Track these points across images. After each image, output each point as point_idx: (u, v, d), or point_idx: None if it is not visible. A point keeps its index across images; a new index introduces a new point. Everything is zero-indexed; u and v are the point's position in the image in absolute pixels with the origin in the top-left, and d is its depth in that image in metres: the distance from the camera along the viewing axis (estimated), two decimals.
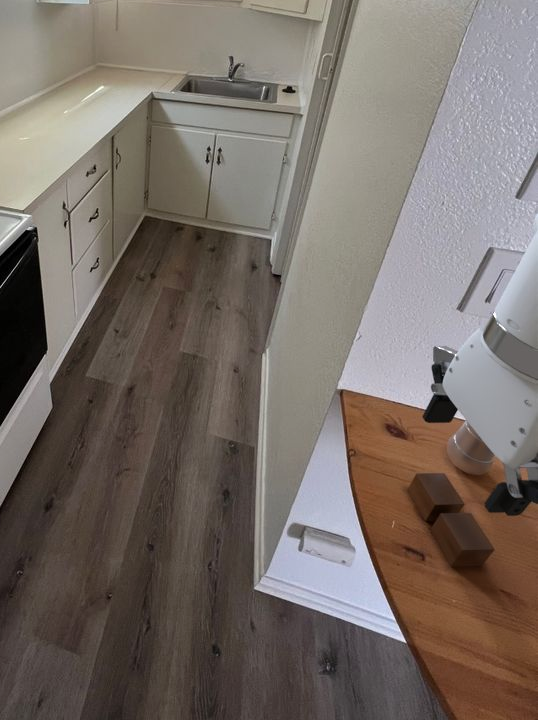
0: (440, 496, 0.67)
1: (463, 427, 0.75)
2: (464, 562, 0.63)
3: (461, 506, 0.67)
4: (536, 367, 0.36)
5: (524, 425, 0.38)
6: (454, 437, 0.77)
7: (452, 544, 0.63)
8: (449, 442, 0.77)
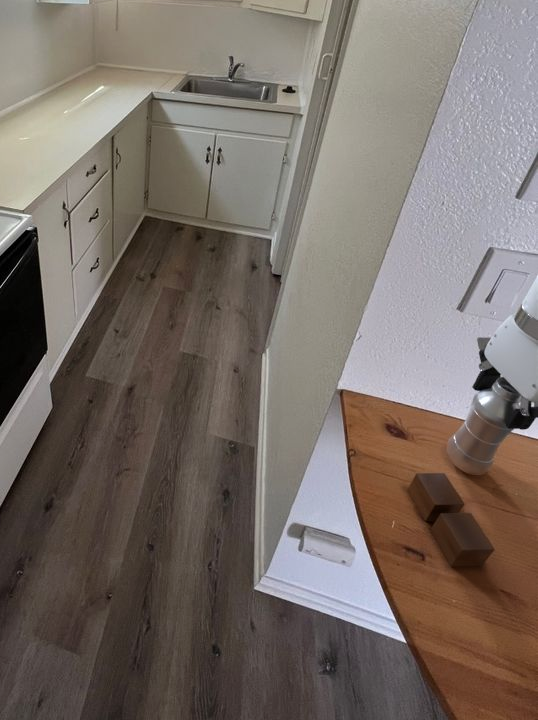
0: (440, 496, 0.67)
1: (463, 427, 0.75)
2: (464, 562, 0.63)
3: (461, 506, 0.67)
4: None
5: None
6: (454, 437, 0.77)
7: (452, 544, 0.63)
8: (449, 442, 0.77)
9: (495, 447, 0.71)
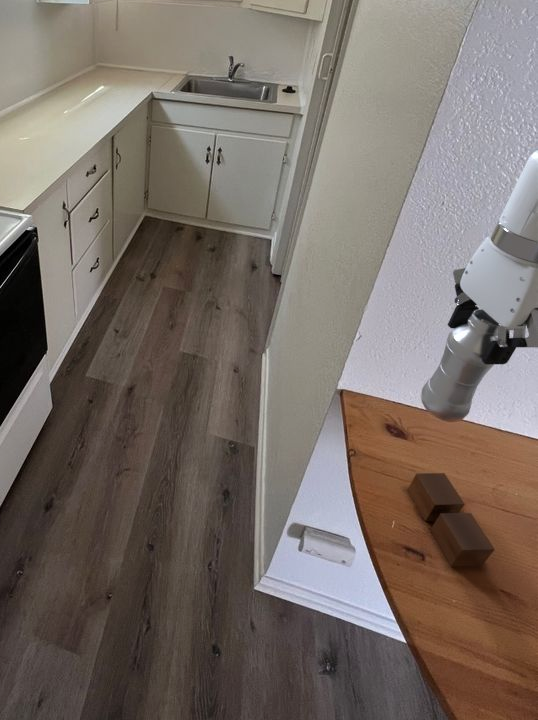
0: (440, 496, 0.67)
1: (438, 369, 0.68)
2: (464, 562, 0.63)
3: (461, 506, 0.67)
4: (528, 252, 0.53)
5: (519, 295, 0.54)
6: (428, 382, 0.70)
7: (452, 544, 0.63)
8: (423, 388, 0.70)
9: (472, 389, 0.65)
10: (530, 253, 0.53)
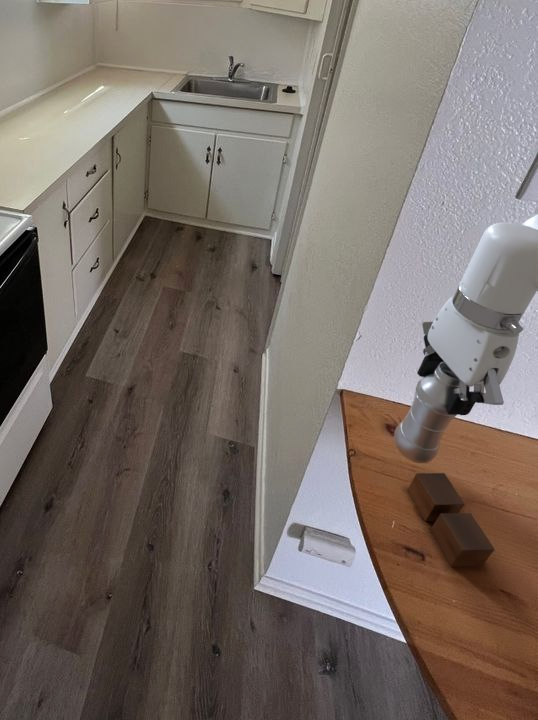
0: (440, 496, 0.67)
1: (408, 414, 0.73)
2: (464, 562, 0.63)
3: (461, 506, 0.67)
4: (483, 318, 0.58)
5: (477, 356, 0.59)
6: (400, 425, 0.75)
7: (452, 544, 0.63)
8: (396, 430, 0.75)
9: (439, 434, 0.69)
10: (485, 319, 0.58)
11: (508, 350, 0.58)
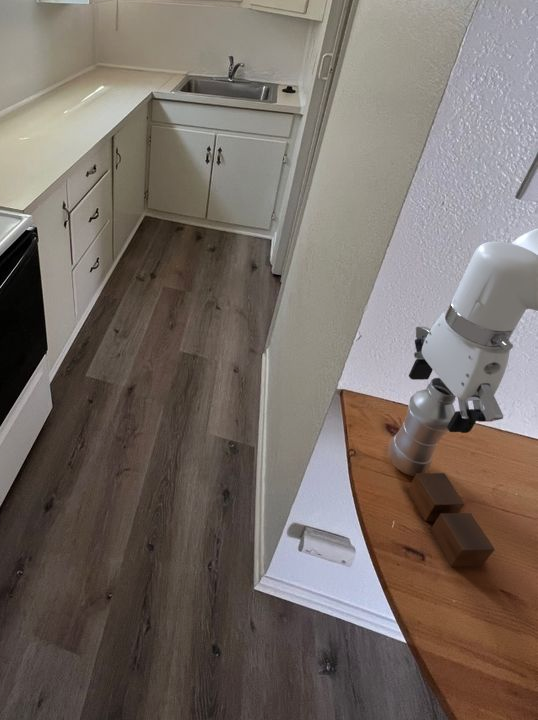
0: (440, 496, 0.67)
1: (402, 428, 0.74)
2: (464, 562, 0.63)
3: (461, 506, 0.67)
4: (474, 335, 0.59)
5: (468, 372, 0.61)
6: (394, 438, 0.76)
7: (452, 544, 0.63)
8: (390, 443, 0.77)
9: (431, 448, 0.71)
10: (476, 336, 0.59)
11: (499, 366, 0.59)
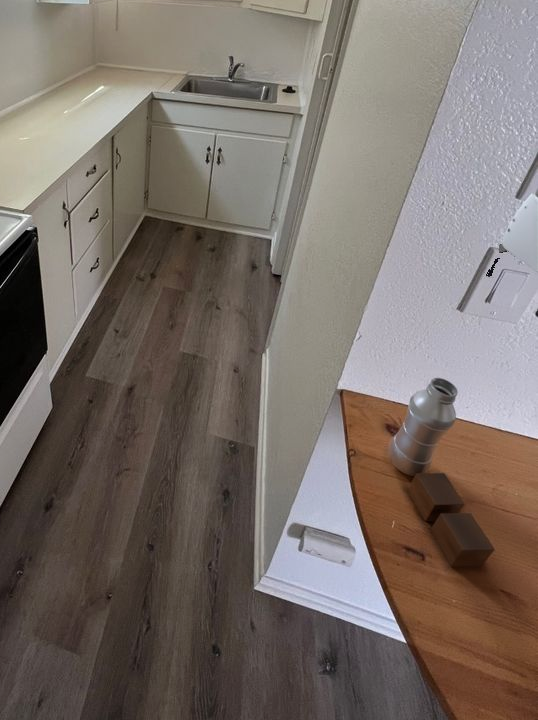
0: (440, 496, 0.67)
1: (402, 428, 0.74)
2: (464, 562, 0.63)
3: (461, 506, 0.67)
4: None
5: None
6: (394, 438, 0.76)
7: (452, 544, 0.63)
8: (390, 443, 0.77)
9: (431, 448, 0.71)
10: None
11: None
